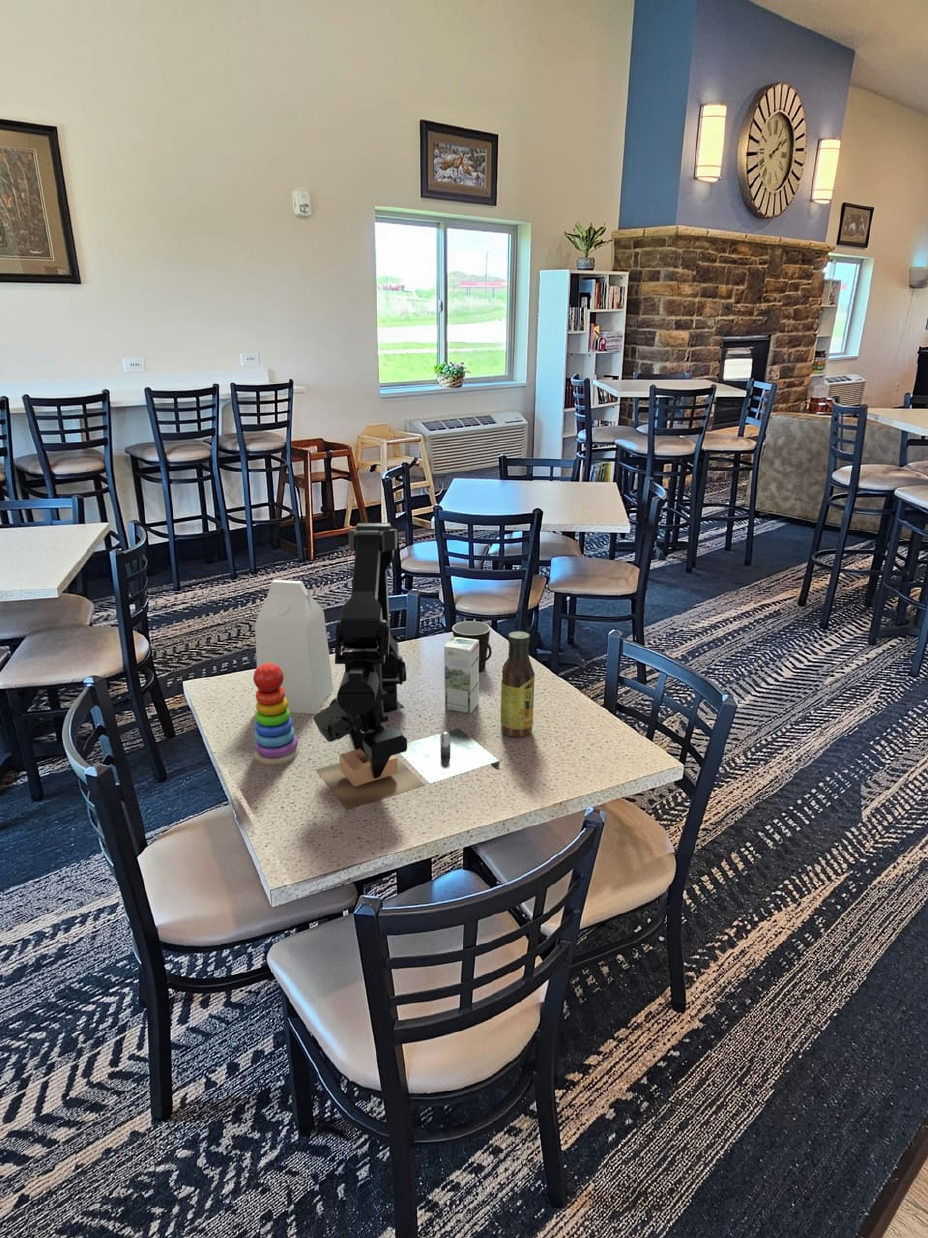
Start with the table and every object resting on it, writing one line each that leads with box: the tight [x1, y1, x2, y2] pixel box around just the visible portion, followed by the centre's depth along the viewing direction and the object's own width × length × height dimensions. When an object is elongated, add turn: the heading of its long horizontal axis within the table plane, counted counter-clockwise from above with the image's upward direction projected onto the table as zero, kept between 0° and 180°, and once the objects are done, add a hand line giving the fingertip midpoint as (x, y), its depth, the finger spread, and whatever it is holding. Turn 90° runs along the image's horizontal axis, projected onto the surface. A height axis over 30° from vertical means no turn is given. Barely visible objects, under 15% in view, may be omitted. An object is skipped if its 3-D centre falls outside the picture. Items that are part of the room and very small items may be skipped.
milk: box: [254, 579, 334, 715], centre depth 155 cm, size 12×12×26 cm
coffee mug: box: [451, 620, 493, 674], centre depth 171 cm, size 12×9×10 cm
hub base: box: [399, 727, 500, 784], centre depth 136 cm, size 14×14×5 cm
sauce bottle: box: [500, 631, 535, 738], centre depth 143 cm, size 7×6×20 cm
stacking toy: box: [252, 663, 301, 766], centre depth 134 cm, size 8×8×19 cm
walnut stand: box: [315, 754, 425, 811], centre depth 129 cm, size 14×14×4 cm
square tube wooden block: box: [338, 749, 398, 787], centre depth 128 cm, size 6×8×3 cm
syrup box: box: [443, 636, 480, 715], centre depth 153 cm, size 6×6×14 cm
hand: (368, 768), depth 128 cm, fingers closed on square tube wooden block, 6 cm apart
